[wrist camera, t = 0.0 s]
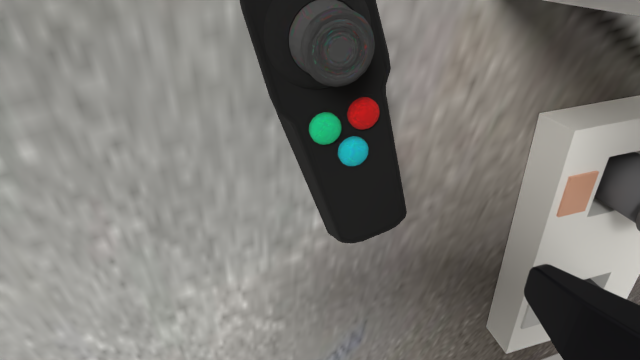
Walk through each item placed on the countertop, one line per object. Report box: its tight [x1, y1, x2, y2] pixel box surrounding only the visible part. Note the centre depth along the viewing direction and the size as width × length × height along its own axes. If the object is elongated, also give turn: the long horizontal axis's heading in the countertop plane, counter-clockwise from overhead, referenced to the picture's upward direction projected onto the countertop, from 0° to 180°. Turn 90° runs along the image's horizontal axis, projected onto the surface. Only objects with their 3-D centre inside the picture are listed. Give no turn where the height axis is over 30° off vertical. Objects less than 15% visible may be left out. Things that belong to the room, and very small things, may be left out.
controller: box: [240, 0, 407, 243], centre depth 17 cm, size 4×12×10 cm, turn 16°
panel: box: [486, 95, 640, 354], centre depth 32 cm, size 22×12×3 cm, turn 3°
